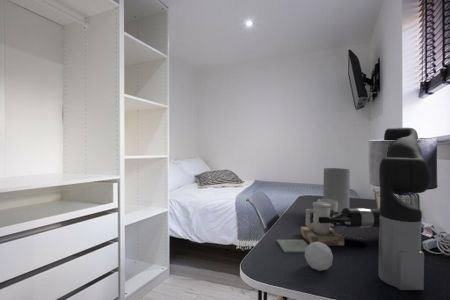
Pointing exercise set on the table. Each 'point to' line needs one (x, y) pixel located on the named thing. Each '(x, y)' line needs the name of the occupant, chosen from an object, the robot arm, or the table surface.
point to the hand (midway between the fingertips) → (315, 217)
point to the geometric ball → (318, 256)
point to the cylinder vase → (337, 186)
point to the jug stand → (322, 237)
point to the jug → (318, 211)
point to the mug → (333, 205)
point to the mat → (292, 245)
